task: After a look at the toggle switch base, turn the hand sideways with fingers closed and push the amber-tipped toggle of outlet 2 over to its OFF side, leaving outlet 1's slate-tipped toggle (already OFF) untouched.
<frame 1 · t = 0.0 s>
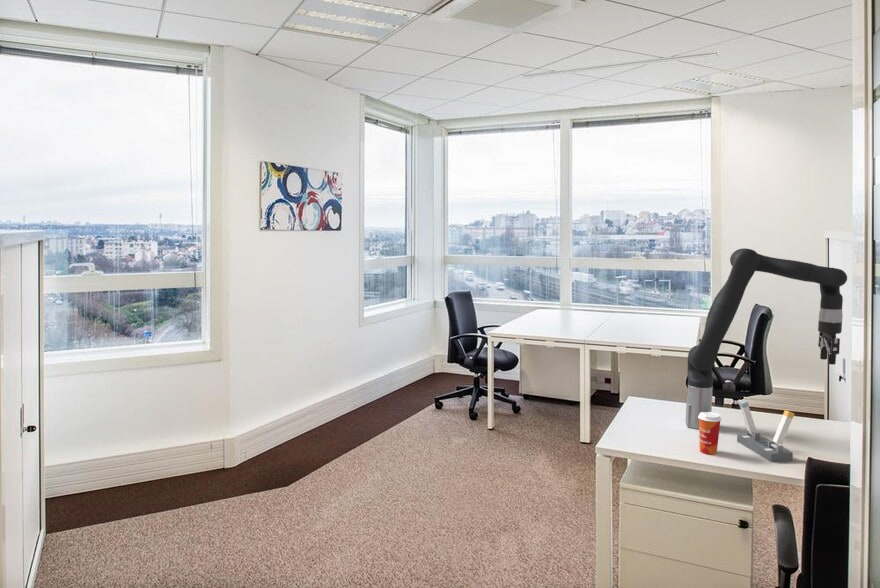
hand: (827, 361, 225), 29 cm above the table, tool pointing down, fingers open, 8 cm apart
toggle 1: (748, 418, 218), point 10 cm above the table, hinge at 20.0°
toggle switch base: (763, 450, 213), on the table
toggle 2: (782, 430, 206), point 10 cm above the table, hinge at -20.0°
paper cup: (708, 452, 212), on the table
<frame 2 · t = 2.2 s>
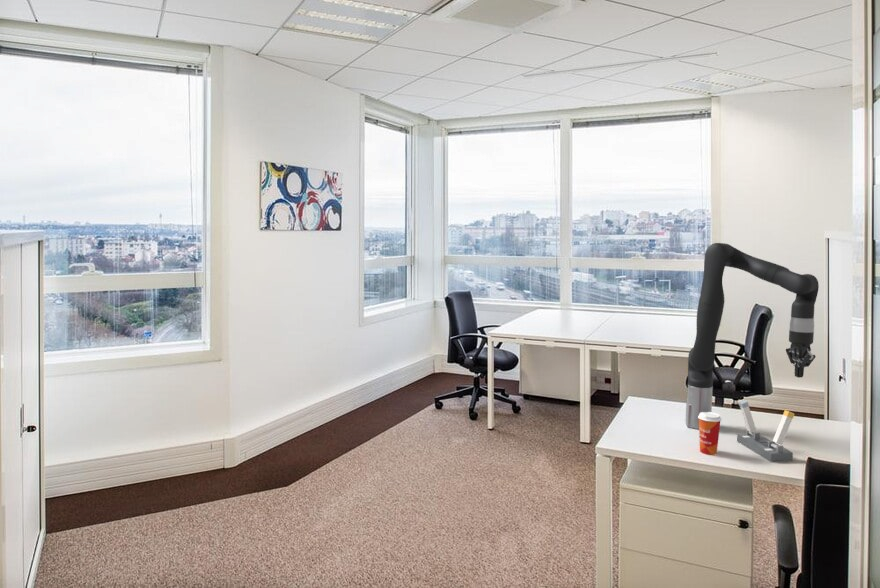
hand: (798, 376, 212), 27 cm above the table, tool pointing down, fingers closed
nothing on the table moved.
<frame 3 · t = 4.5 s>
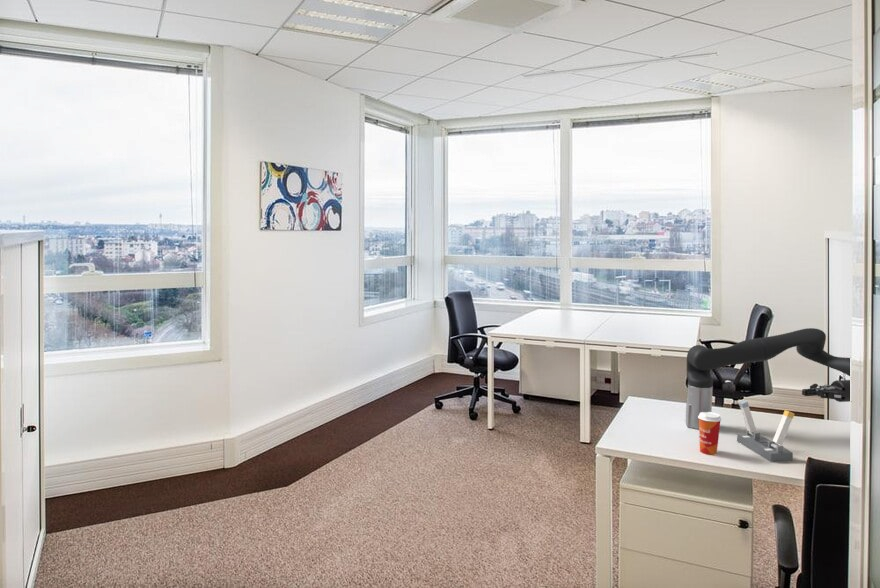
hand: (803, 392, 205), 23 cm above the table, tool horizontal, fingers closed
nothing on the table moved.
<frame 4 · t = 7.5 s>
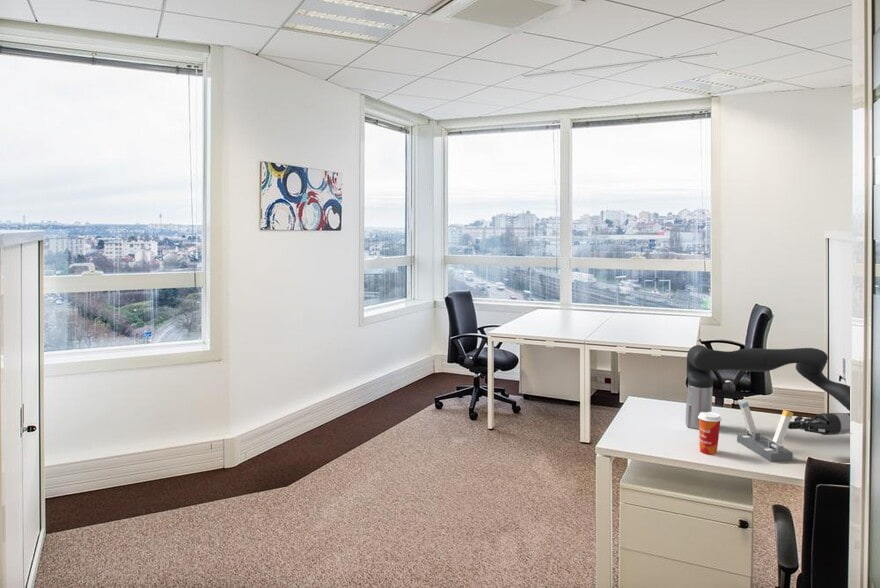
hand: (787, 425, 205), 12 cm above the table, tool horizontal, fingers closed
toggle 2: (781, 429, 206), point 10 cm above the table, hinge at -17.6°, touching gripper
everything else where it was.
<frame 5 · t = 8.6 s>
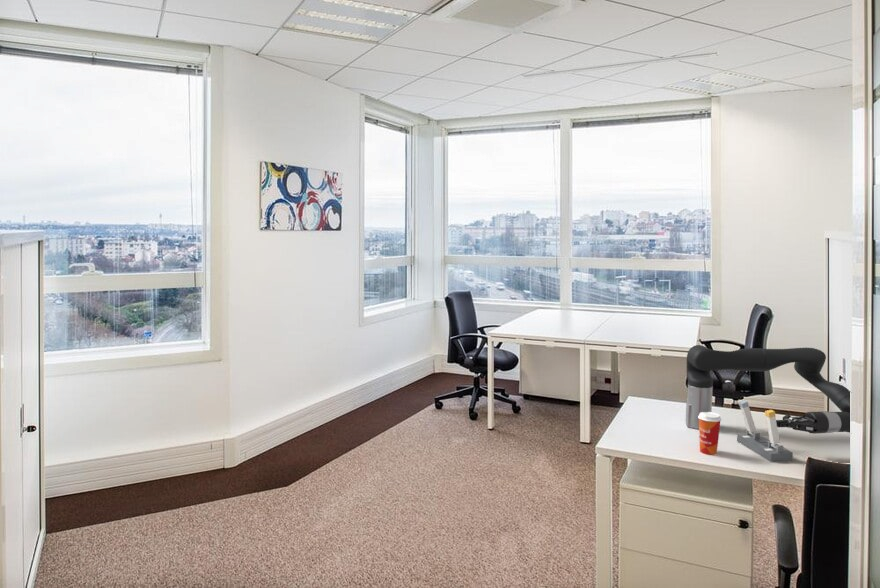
hand: (776, 423, 205), 13 cm above the table, tool horizontal, fingers closed
toggle 2: (772, 429, 205), point 10 cm above the table, hinge at 12.6°, touching gripper
everything else where it was.
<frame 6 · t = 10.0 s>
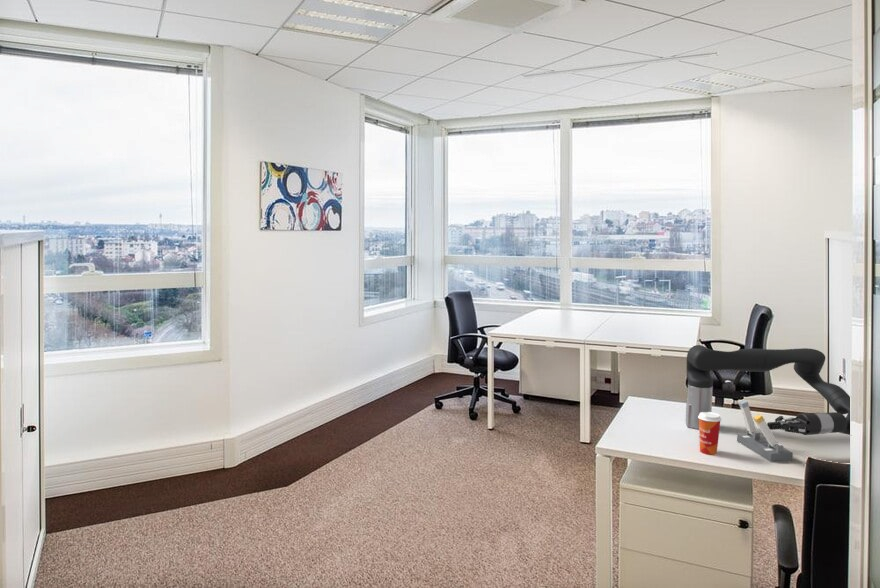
hand: (768, 426, 205), 12 cm above the table, tool horizontal, fingers closed
toggle 2: (767, 432, 205), point 9 cm above the table, hinge at 33.1°, touching gripper
everything else where it was.
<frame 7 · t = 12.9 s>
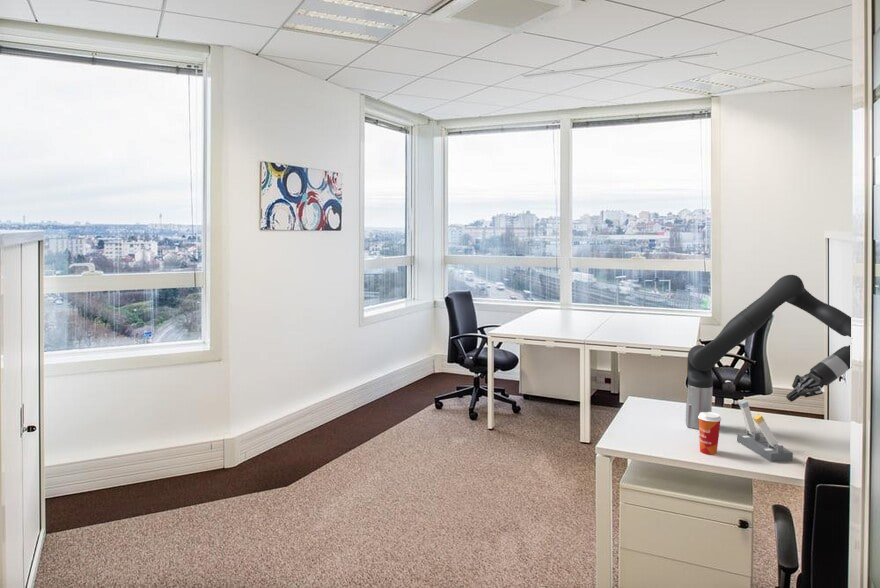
hand: (788, 399, 211), 19 cm above the table, tool tilted 50°, fingers closed
toggle 2: (767, 432, 205), point 9 cm above the table, hinge at 33.3°
everything else where it was.
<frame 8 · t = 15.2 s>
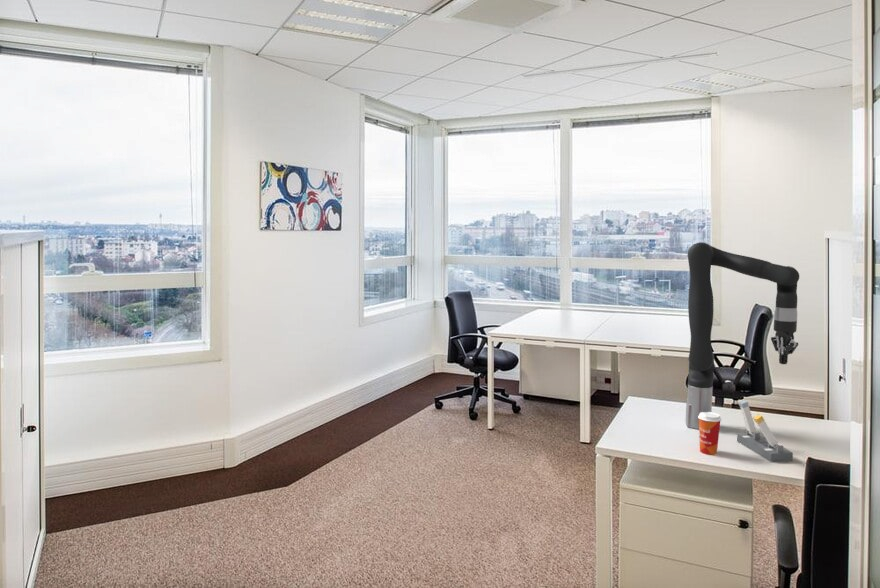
hand: (783, 363, 224), 29 cm above the table, tool pointing down, fingers closed
nothing on the table moved.
at the end: toggle 2 at +33° (first picture: -20°); toggle 1 at +20° (first picture: +20°) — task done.
